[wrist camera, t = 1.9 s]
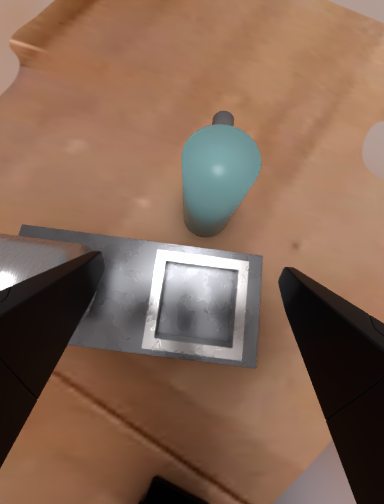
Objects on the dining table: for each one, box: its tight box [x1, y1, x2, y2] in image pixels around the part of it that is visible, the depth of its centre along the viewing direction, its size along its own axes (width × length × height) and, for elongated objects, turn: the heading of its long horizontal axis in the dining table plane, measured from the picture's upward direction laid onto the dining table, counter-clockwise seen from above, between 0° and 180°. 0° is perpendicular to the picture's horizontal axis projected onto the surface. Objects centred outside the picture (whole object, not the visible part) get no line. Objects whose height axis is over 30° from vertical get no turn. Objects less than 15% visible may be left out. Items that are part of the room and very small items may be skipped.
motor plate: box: [0, 225, 263, 368], centre depth 16 cm, size 28×12×11 cm, turn 83°
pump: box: [182, 111, 261, 237], centre depth 19 cm, size 8×6×11 cm
